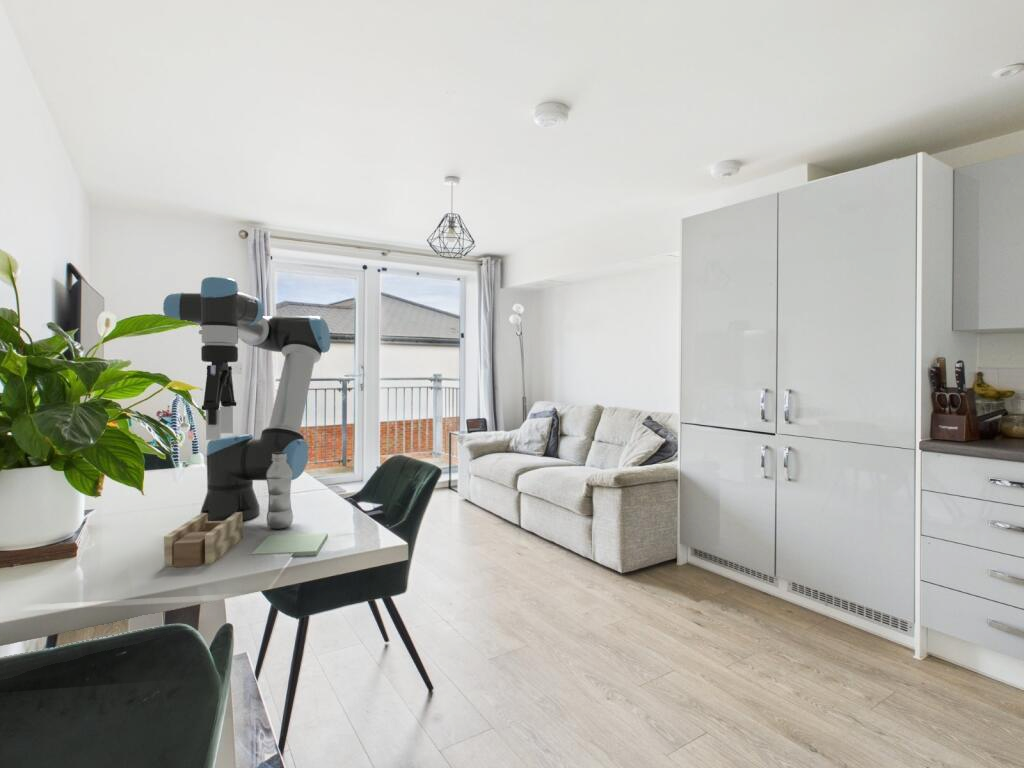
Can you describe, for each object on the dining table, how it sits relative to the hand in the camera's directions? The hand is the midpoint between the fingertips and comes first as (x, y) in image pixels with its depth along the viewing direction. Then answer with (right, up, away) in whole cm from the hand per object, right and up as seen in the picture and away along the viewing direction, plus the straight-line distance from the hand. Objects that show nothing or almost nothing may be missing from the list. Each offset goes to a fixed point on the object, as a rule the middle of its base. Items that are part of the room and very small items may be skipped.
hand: (220, 436), depth 129 cm
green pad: (+16, -27, +3) cm, 31 cm away
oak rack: (-2, -27, -3) cm, 27 cm away
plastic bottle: (+6, -26, +18) cm, 33 cm away
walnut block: (-1, -26, -9) cm, 28 cm away
